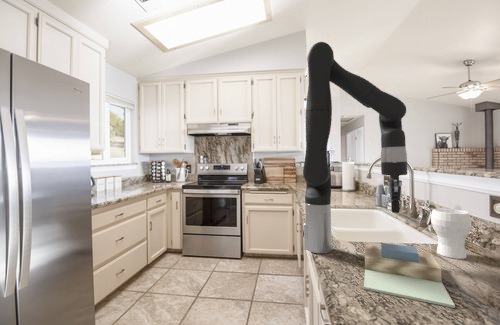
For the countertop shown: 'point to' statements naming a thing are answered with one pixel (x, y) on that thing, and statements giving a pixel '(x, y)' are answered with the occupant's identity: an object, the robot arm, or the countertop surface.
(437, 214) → the white vase
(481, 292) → the countertop surface
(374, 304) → the countertop surface
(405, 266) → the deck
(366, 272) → the mat
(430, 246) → the countertop surface
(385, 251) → the tile
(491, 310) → the countertop surface
